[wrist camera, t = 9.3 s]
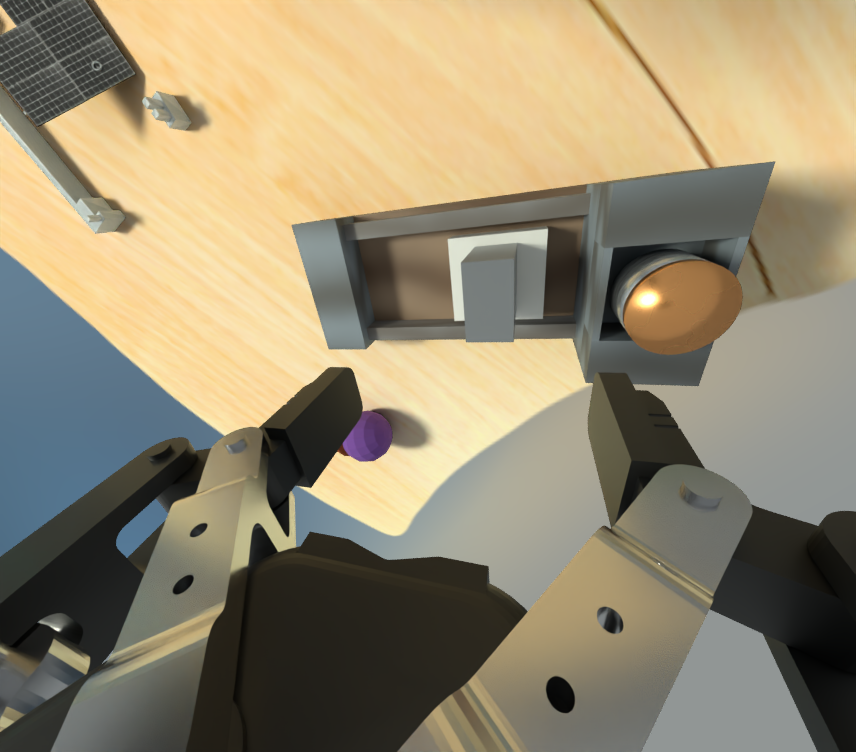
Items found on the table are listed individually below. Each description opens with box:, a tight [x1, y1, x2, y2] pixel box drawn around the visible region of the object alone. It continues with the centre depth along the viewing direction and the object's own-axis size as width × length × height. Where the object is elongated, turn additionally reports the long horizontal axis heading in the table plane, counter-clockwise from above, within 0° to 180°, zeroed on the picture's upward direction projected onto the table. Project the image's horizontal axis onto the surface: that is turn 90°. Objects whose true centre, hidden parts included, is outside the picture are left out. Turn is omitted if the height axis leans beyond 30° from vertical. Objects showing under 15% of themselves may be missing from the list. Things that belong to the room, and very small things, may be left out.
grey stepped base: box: [292, 162, 775, 386], centre depth 24 cm, size 11×28×10 cm, turn 97°
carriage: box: [448, 226, 548, 342], centre depth 22 cm, size 6×7×8 cm
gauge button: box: [610, 249, 743, 355], centre depth 16 cm, size 4×4×4 cm
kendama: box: [337, 411, 392, 461], centre depth 41 cm, size 6×6×20 cm
